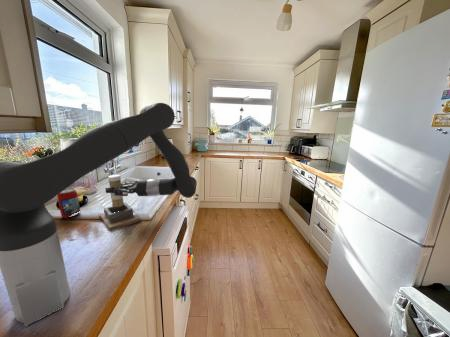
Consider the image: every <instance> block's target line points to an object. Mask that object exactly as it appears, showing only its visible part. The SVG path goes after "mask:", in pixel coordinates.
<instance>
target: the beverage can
mask: <svg viewBox="0 0 450 337" xmlns="http://www.w3.org/2000/svg"><path fill="white" fill-rule="evenodd" d="M57 201H58V207H59V211H60V215H61V218H63V217H64V219H69V218H68V217H69V216H71V215H72V214H74V213H77V212H79V211H80V212H81V208H80V207H81V206H80V202H79V201H80V200H79V197H78V192H77V191H76V190H75V188H66V189H65V190H63V191H62V192H61V193H59V194H58V195H57Z"/></svg>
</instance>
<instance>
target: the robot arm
mask: <svg viewBox="0 0 450 337" xmlns="http://www.w3.org/2000/svg"><path fill="white" fill-rule="evenodd" d="M175 118H176V115H175V112H174V110H173V108H172V107H171V106H170V105H169V104H167V103H164V102H155V103H152V104H150V105H146V106H144V107H142V108H141V109H140V111H139V114H135V115H134V114H133V115H131V116H126V117H122V118H118V119H115V120H112V121H109V122H106V123H103V124H100V125H98V126H95V127H93V128H91V129H89V130H87V131H86V132H84V133H82V134H81V135H80V136H79V137H77V138H76V139H75V141H73V142H71V144H70V145H68V146H67V147H66V148H63V149H62V150H59V151H57V152H54V153H52V154H48V155H47V156H44V157H40V158H39V159H35V160H32V161H29V162H28V161H27V162H26V163H23V162H17V161H0V272H1V275H2V279H3V282H4V286H5V288H6V292H7V296H8V298H9V302H10V305H11V308H12V311H13V314H14V317H15V320H16V322H18V321H19V322H18V323H20V322H21V323H20V324H23V325H24V327H25V328H27V327H29V326H30V325H29V324H31V323H33V322H34V321H36V320H38V319H40V318H42V317H44V316H46V315H48V314H50V313H52V312H54V311H56V310H58V309H60V308H62V307H64V308H65V303H66V302H67V300H68V299H69V298H70V295H71V289H70V284H69V279H68V274H67V269H66V266H65V261H64V255H63V252H62V247H61V241H60V237H59V232H58V227H57V223H56V220H55V218H54V217H53V215H52V214H51V213H50V212H49V210H48V209H47V207H46V206H45V204H47V203H48V202H50V201H51V200H52V199H54V198H55V197H56V196H57V195H58V194H59V193H61V192H62V191H63V190H65V189H68V188H69V187H70V186H72V185H73V184H74V183H76V182H77V181H78V180H80V179H81V178H83V177H84V176H86V175H88V174H89V173H92V172H93V171H95V170H97V169H99V168H100V167H102V166H103V165H106V164H107V163H109V162H111V161H112V160H114V159H117V158H118V157H120V156H122V155H123V154H124V153H127V152H128V151H130V149H132V148H134V147H136V146H137V145H139V144H141V143H142V142H143V141H145V140H146V139H147V138H151V140H152V141H153V143H154V144H155V145H156V146H157V148H158V149H159V151H160V152H161V154H162V156H163V157H164V159H165V161H166V163H167V164H168V166H169V169H170V171H171V172H172V174H173V176H174V177H173V178H139V179H138V180H130V181H124V182H121V187H110V186H108V187H105V188H104V189H105V193H106V194H111V193H115V195H118V196H123V197H128V196H129V194H132V195H133V194H134V193H135V194H137V196H138V197H159V196H172V195H174V194H175V192H177V191H178V192H179V194H180V195H181V196H182V197H184V198H187V199H189V198H192V197H193V196H194V195H196V190H197V179H196V178H195V177H193V176H191V175H190V168H189V167H190V166H189V165H188V163H187V161H186V159H185V156H184V154H183V153H182V151H180V149H179V148H178V147H177V146H175V144H173V143H172V142H171V141H170V139H169V138H168V137H167V136H166V134H165V132H164V130H166V129H168V128H170V127H171V126H172V125H173V123H174V121H175ZM118 191H119V192H118ZM62 309H63V308H62ZM60 310H61V309H60ZM58 311H59V310H58ZM33 324H34V323H33ZM28 325H29V326H28ZM31 325H32V324H31ZM26 326H27V327H26Z"/></svg>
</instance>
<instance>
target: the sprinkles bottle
mask: <svg viewBox="0 0 450 337" xmlns="http://www.w3.org/2000/svg"><path fill="white" fill-rule="evenodd" d="M107 178H108V179H107V181H108V183H109V187H121V183H122V180H121V179H122V177H121V175H120V174H110V175H108V177H107ZM118 192H119V191H118ZM110 199H111V203H112V204H111V206H113V207H119V206H122V205H123V204H124V203H125V202H124V196H118V195H115V193H110Z"/></svg>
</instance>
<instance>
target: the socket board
mask: <svg viewBox="0 0 450 337" xmlns="http://www.w3.org/2000/svg"><path fill="white" fill-rule="evenodd" d="M103 211H104V213H105V214H100V216H99V218H100V217H101V218H100V219H101V221H102V222H103V223H104V225H105V227H106V228H107V230H108V231H109V232H111V231H114V230H117V229H119V228H120V229H121V228H122V227H126V226H130V225H132V224H136V223H138V222H141V221H142V218H141V216H140V215H138V214H137V215H133V211H134V210H133V208H132V207H131V206H130V205H129V204H128V203H127V202H124V204H123V205H122V206H119V207H113V206H112V205H111V206H108V207H104V208H103ZM118 211H119V212H118ZM114 212H115V213H114Z"/></svg>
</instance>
